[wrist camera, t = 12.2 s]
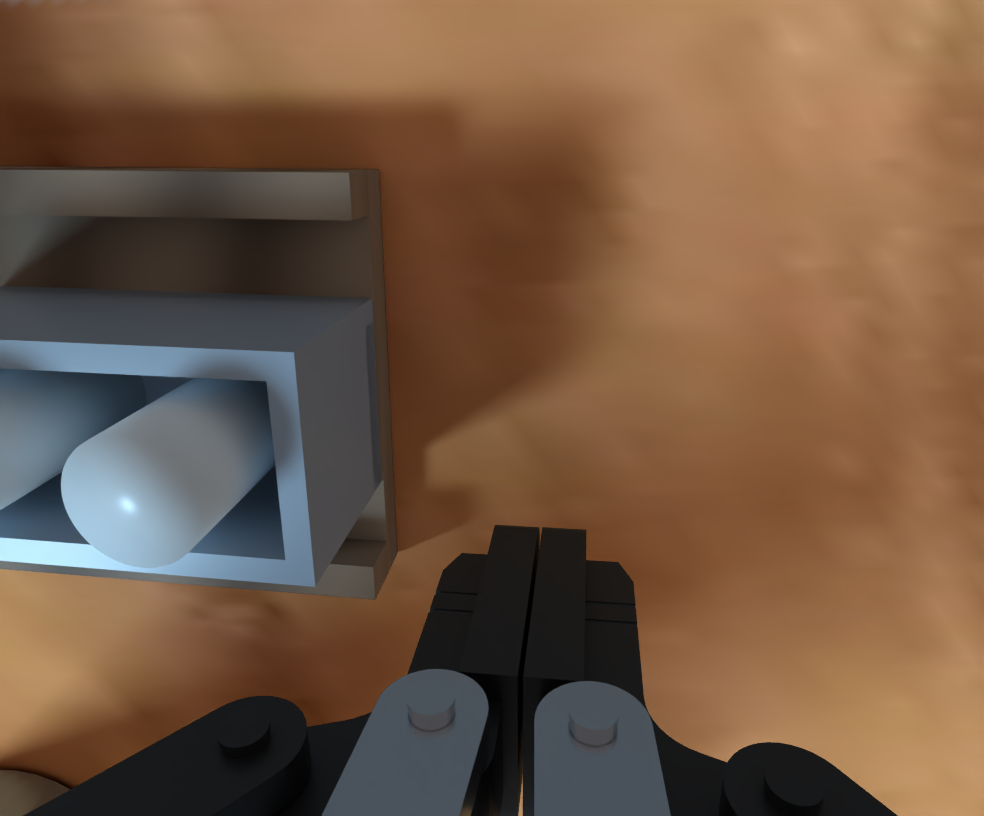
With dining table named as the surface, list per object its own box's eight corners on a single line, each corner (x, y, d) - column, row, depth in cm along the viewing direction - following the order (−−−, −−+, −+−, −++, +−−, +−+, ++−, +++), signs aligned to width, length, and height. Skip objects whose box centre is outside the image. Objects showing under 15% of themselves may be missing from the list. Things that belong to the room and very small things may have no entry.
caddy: (371, 298, 21) (258, 377, 14) (381, 481, 23) (286, 632, 16) (3, 285, 23) (-273, 352, 15) (42, 459, 25) (-186, 589, 18)
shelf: (378, 169, 21) (233, 185, 13) (397, 553, 26) (299, 757, 17) (-215, 164, 24) (-674, 175, 15) (-103, 516, 28) (-409, 679, 20)
